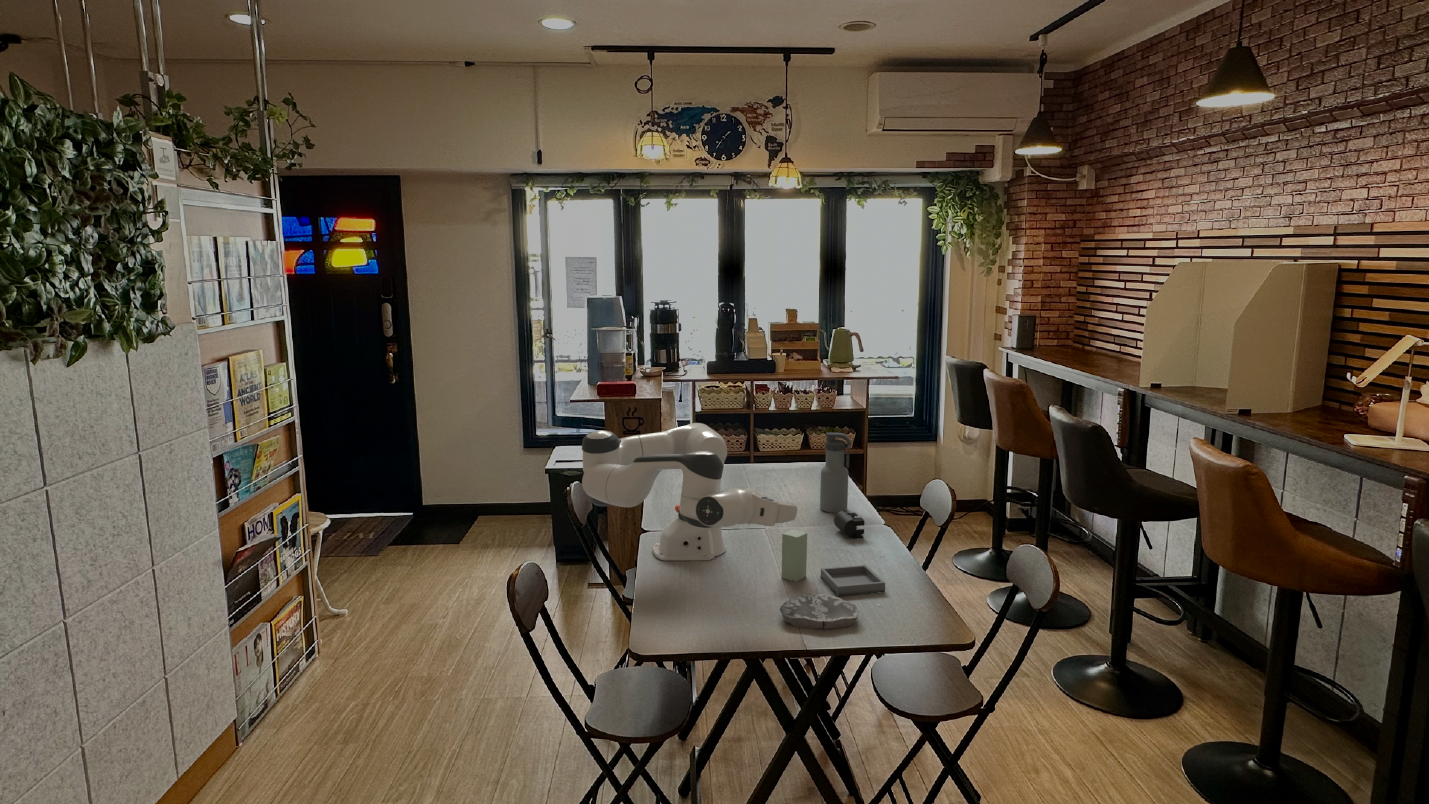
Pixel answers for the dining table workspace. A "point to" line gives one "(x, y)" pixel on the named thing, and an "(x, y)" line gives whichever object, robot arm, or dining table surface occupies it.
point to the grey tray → (852, 580)
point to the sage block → (794, 555)
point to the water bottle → (835, 474)
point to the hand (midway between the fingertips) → (776, 501)
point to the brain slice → (819, 611)
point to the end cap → (849, 524)
